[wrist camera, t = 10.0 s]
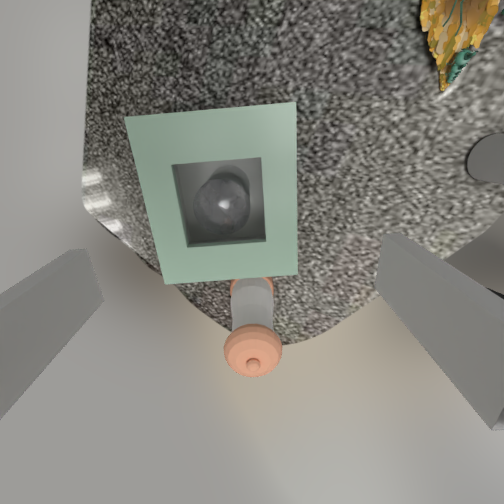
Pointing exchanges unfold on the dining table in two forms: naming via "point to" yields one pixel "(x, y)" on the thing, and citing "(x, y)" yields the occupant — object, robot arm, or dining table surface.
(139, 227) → the dining table surface
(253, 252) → the caddy
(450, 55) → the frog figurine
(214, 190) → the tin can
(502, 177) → the beverage can
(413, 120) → the dining table surface
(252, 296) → the pepper shaker
